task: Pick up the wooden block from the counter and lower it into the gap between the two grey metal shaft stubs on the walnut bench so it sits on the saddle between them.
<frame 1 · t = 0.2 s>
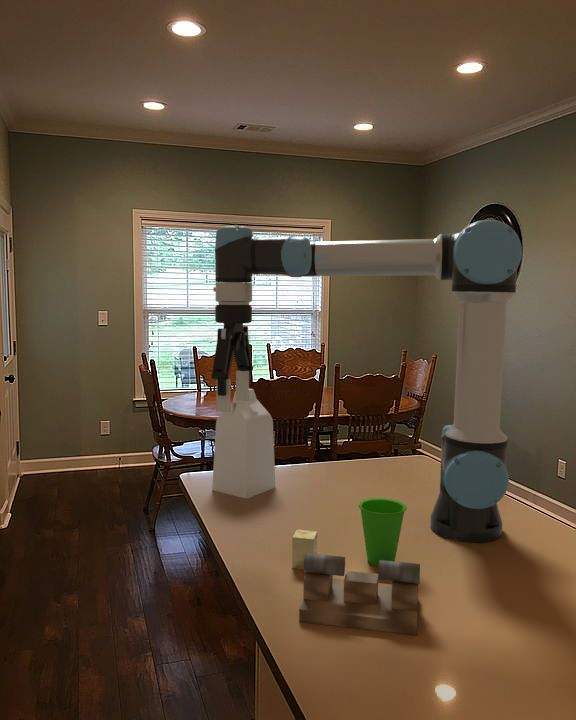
hand: (233, 405, 134), 27 cm above the kitchen island, tool pointing down, fingers open, 13 cm apart
wooden block: (304, 564, 122), on the kitchen island
milk: (244, 489, 168), on the kitchen island
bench: (360, 609, 104), on the kitchen island
cup: (381, 562, 124), on the kitchen island
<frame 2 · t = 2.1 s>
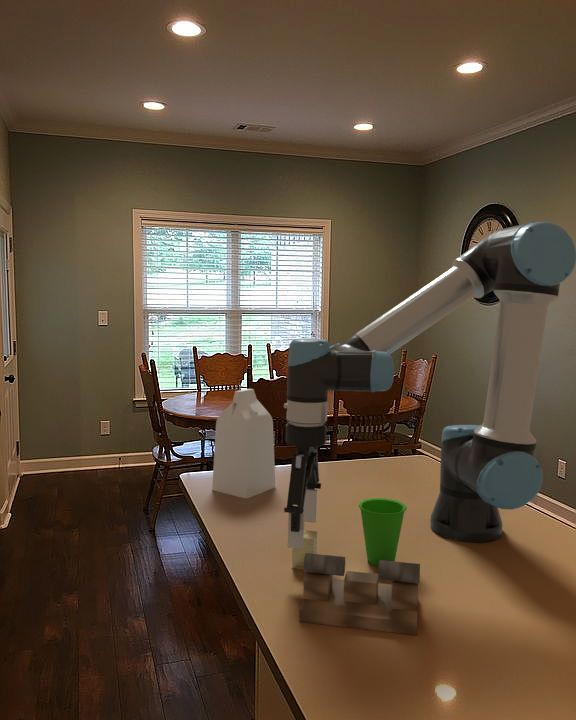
hand: (302, 534, 121), 6 cm above the kitchen island, tool pointing down, fingers open, 13 cm apart
nothing on the kitchen island moved.
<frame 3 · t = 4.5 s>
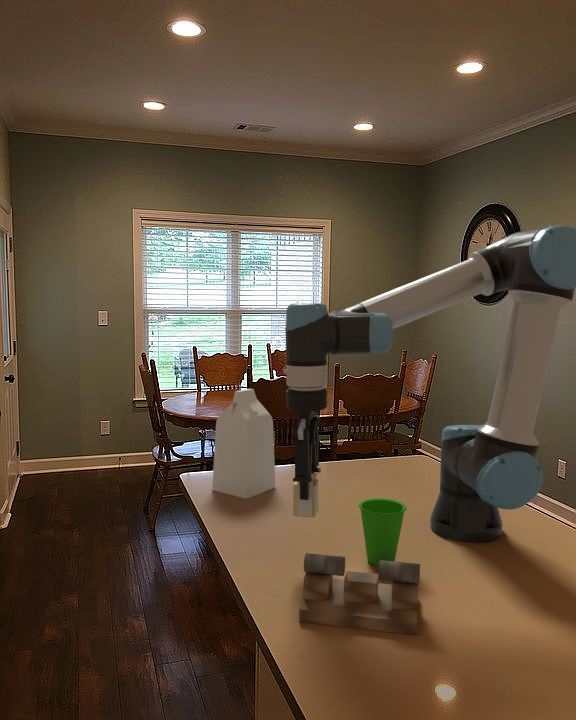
hand: (307, 510, 120), 10 cm above the kitchen island, tool pointing down, fingers closed on wooden block, 4 cm apart
wooden block: (305, 513, 121), point 10 cm above the kitchen island, touching gripper
everything else where it was.
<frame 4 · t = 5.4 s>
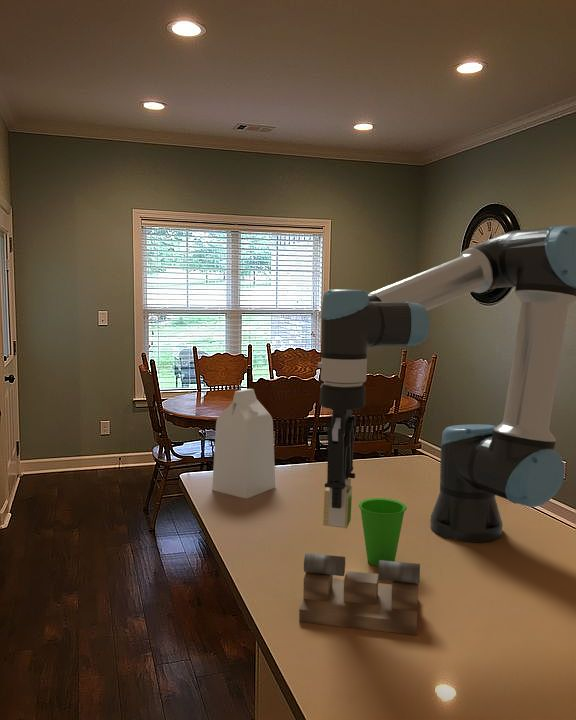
hand: (339, 520, 109), 13 cm above the kitchen island, tool pointing down, fingers closed on wooden block, 4 cm apart
wooden block: (337, 522, 109), point 12 cm above the kitchen island, touching gripper
everything else where it was.
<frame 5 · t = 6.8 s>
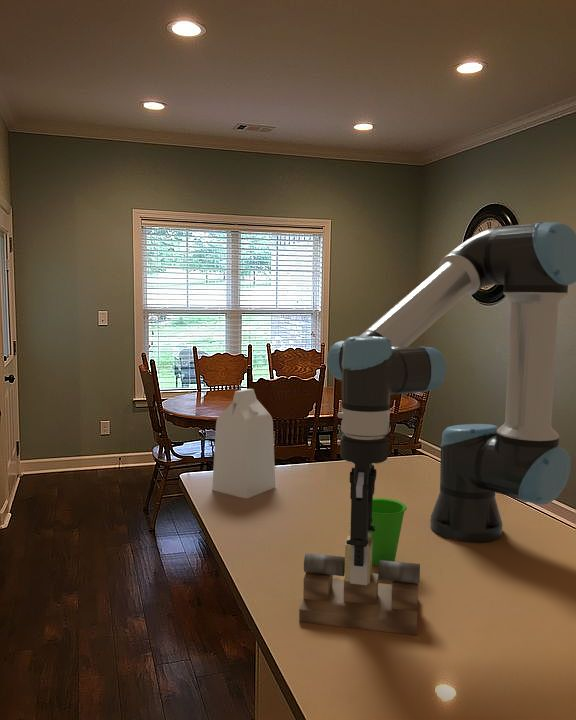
hand: (360, 576, 104), 6 cm above the kitchen island, tool pointing down, fingers closed on wooden block, 4 cm apart
wooden block: (358, 577, 104), point 6 cm above the kitchen island, touching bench, gripper
everything else where it was.
when the fingers open (5 cm above the kitchen island, at t = 7.0 s): wooden block stays where it is, resting on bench.
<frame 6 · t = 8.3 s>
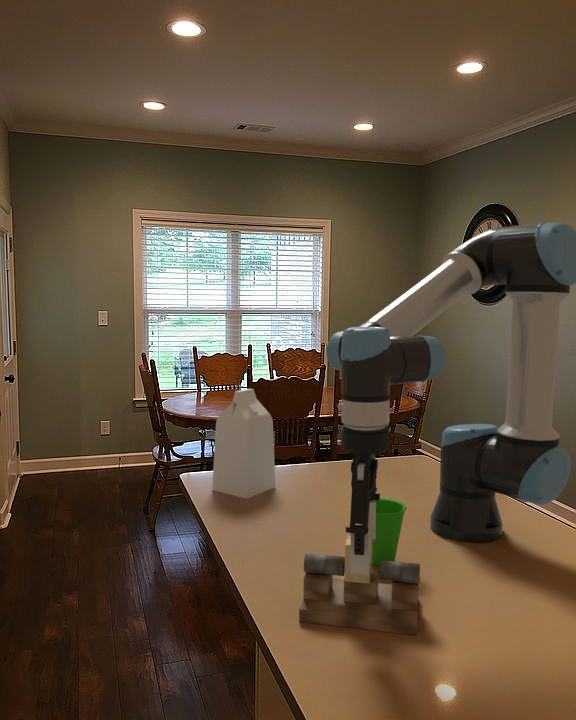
hand: (363, 554, 104), 9 cm above the kitchen island, tool pointing down, fingers open, 13 cm apart
wooden block: (358, 577, 104), point 5 cm above the kitchen island, touching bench
everything else where it was.
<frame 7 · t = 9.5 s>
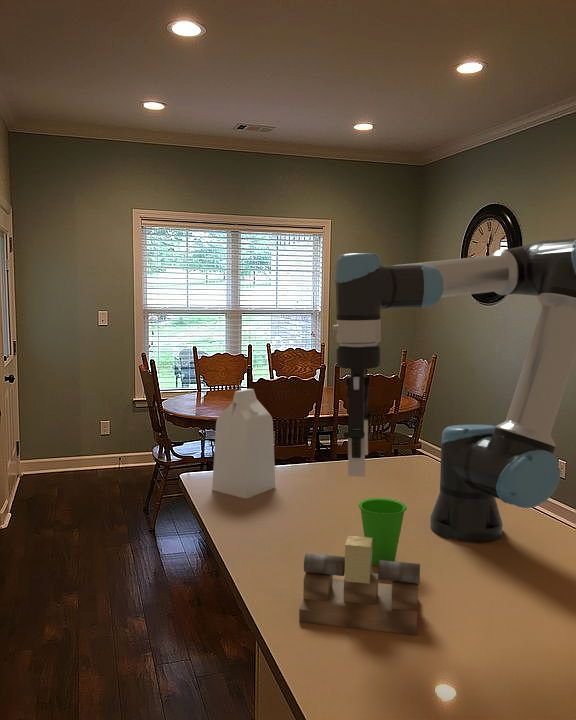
hand: (358, 464, 113), 21 cm above the kitchen island, tool pointing down, fingers open, 13 cm apart
nothing on the kitchen island moved.
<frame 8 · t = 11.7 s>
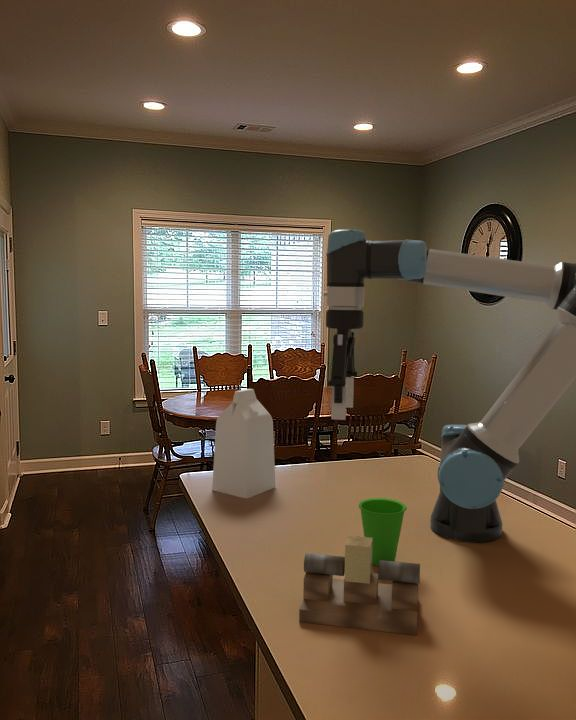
hand: (342, 413, 131), 27 cm above the kitchen island, tool pointing down, fingers open, 13 cm apart
nothing on the kitchen island moved.
at the end: wooden block 0.5 cm off-centre on the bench, point 5.5 cm above the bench's base; wooden block tilted 0°; the gripper is holding nothing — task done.
